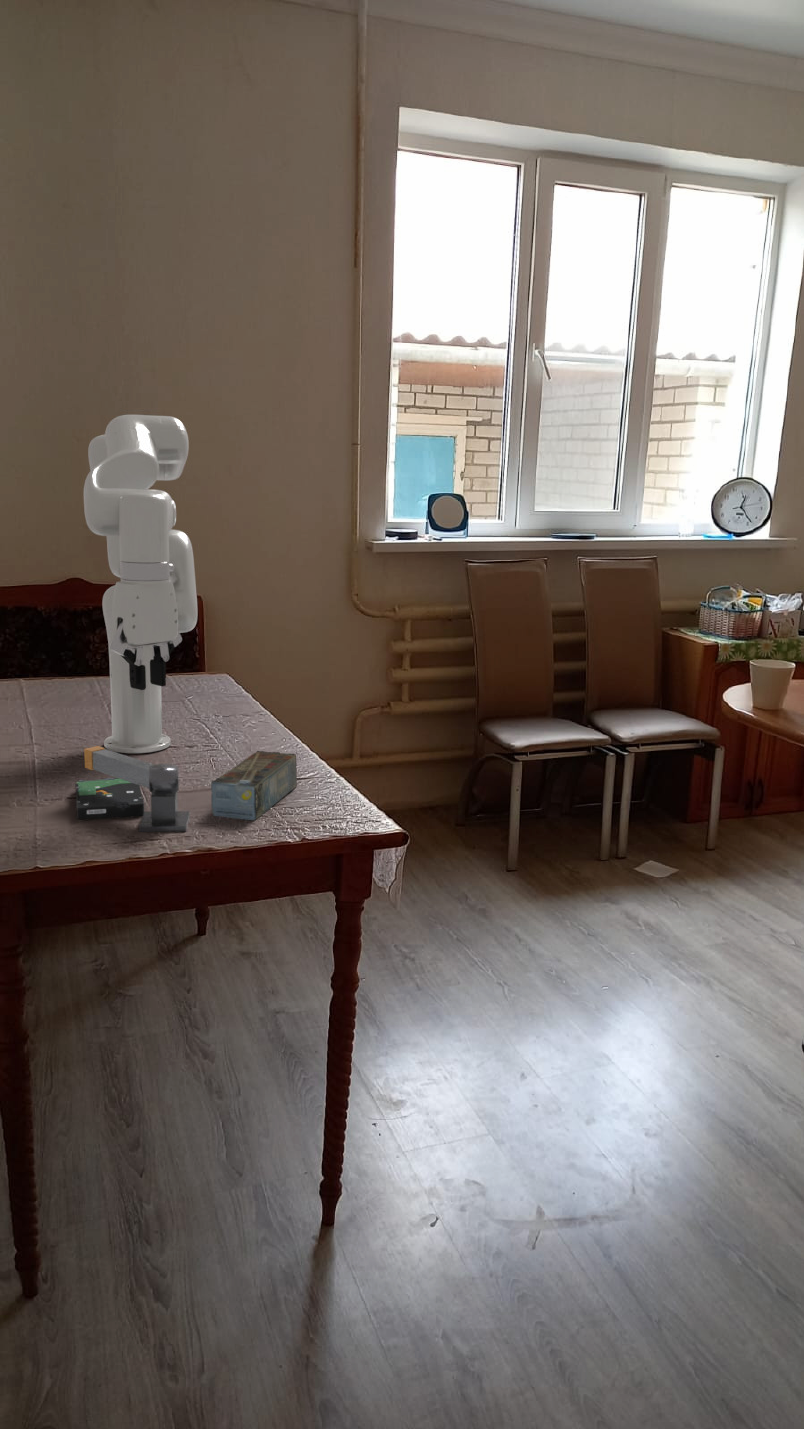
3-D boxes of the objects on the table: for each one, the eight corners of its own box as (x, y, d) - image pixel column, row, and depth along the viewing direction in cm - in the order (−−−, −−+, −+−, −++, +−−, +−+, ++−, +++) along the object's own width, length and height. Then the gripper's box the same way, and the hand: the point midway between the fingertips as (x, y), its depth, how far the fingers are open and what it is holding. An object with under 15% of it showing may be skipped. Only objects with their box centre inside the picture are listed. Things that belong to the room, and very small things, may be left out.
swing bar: (184, 790, 162) (184, 767, 161) (161, 796, 158) (161, 773, 157) (103, 763, 174) (102, 742, 173) (80, 768, 171) (79, 747, 170)
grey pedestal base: (144, 816, 166) (143, 786, 164) (189, 815, 166) (189, 785, 165) (138, 831, 159) (138, 800, 158) (186, 831, 160) (185, 800, 158)
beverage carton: (208, 816, 167) (208, 777, 165) (256, 783, 185) (256, 747, 183) (255, 822, 165) (255, 782, 163) (298, 788, 183) (299, 751, 181)
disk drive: (145, 819, 166) (138, 790, 180) (145, 803, 165) (137, 774, 179) (77, 824, 163) (74, 794, 176) (76, 807, 162) (74, 778, 176)
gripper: (171, 567, 173) (173, 676, 178) (86, 573, 161) (90, 690, 165) (201, 571, 169) (203, 683, 173) (116, 578, 156) (120, 698, 161)
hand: (148, 685), depth 169 cm, fingers open, 3 cm apart
